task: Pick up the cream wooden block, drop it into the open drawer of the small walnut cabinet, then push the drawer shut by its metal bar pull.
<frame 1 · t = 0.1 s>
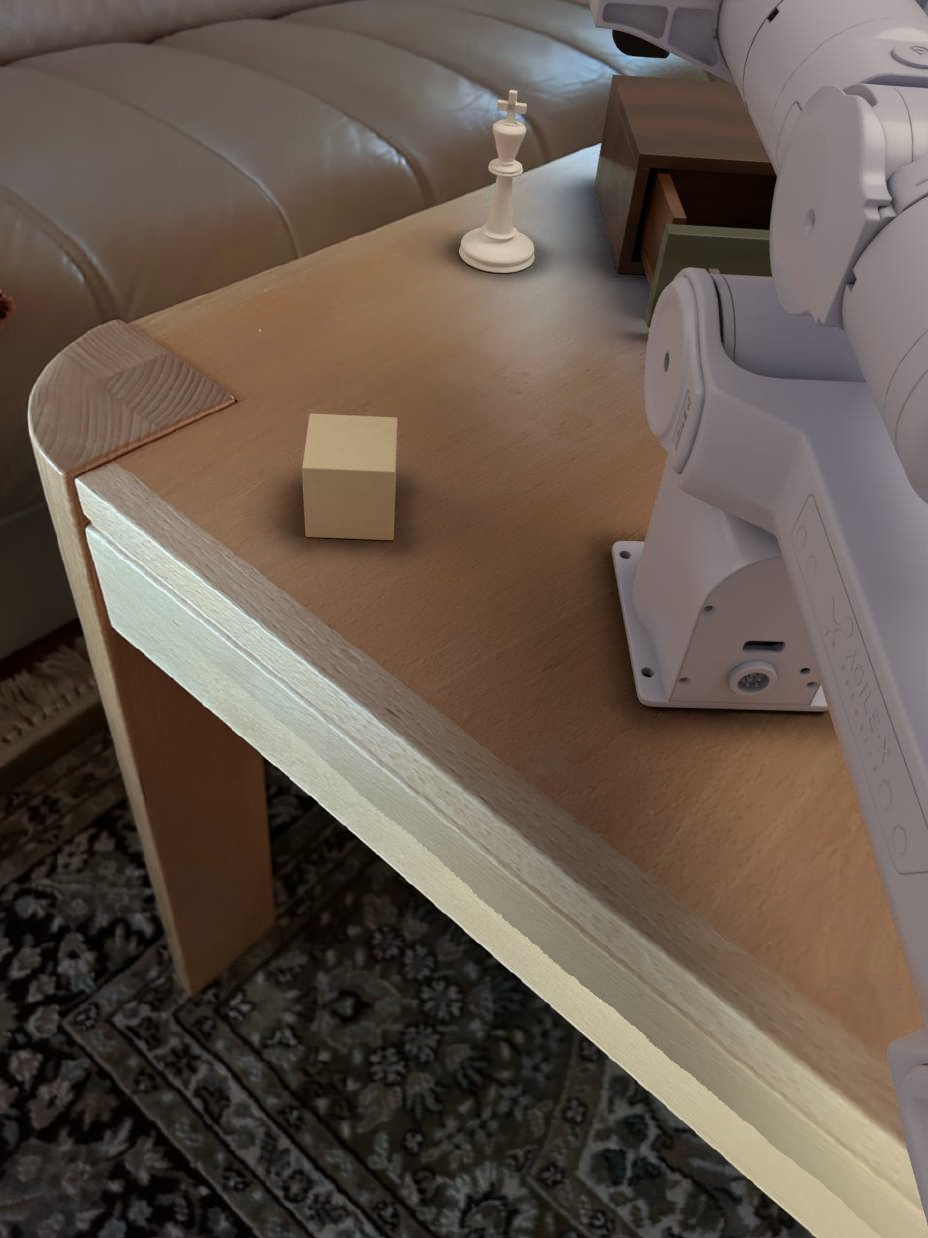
drawer: (742, 257, 60), point 4 cm above the table, slide at 7.0 cm
block: (351, 510, 48), on the table
cabinet: (694, 231, 71), on the table
chess piece: (496, 257, 67), on the table
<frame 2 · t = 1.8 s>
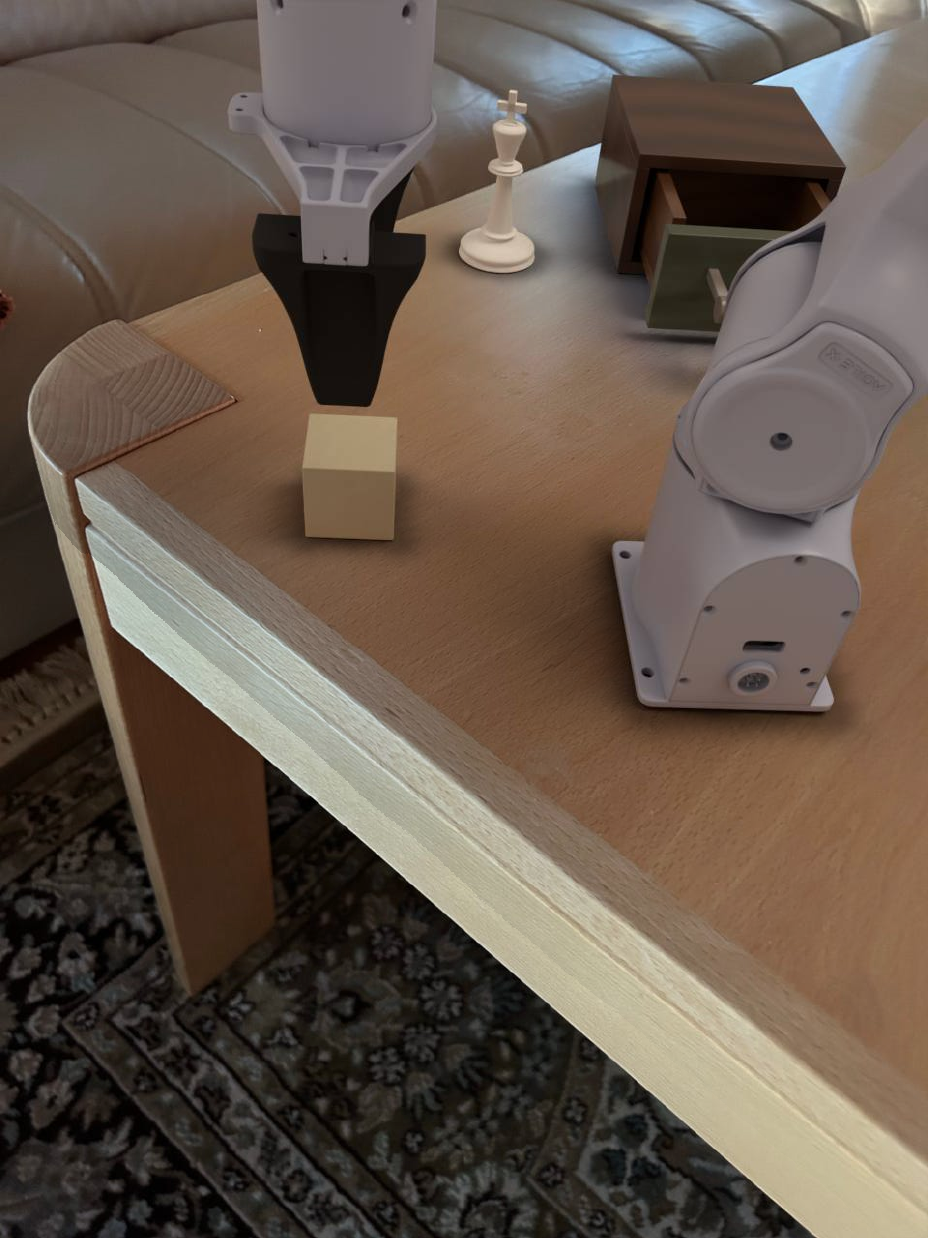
hand: (349, 346, 42), 9 cm above the table, tool pointing down, fingers open, 7 cm apart
nothing on the table moved.
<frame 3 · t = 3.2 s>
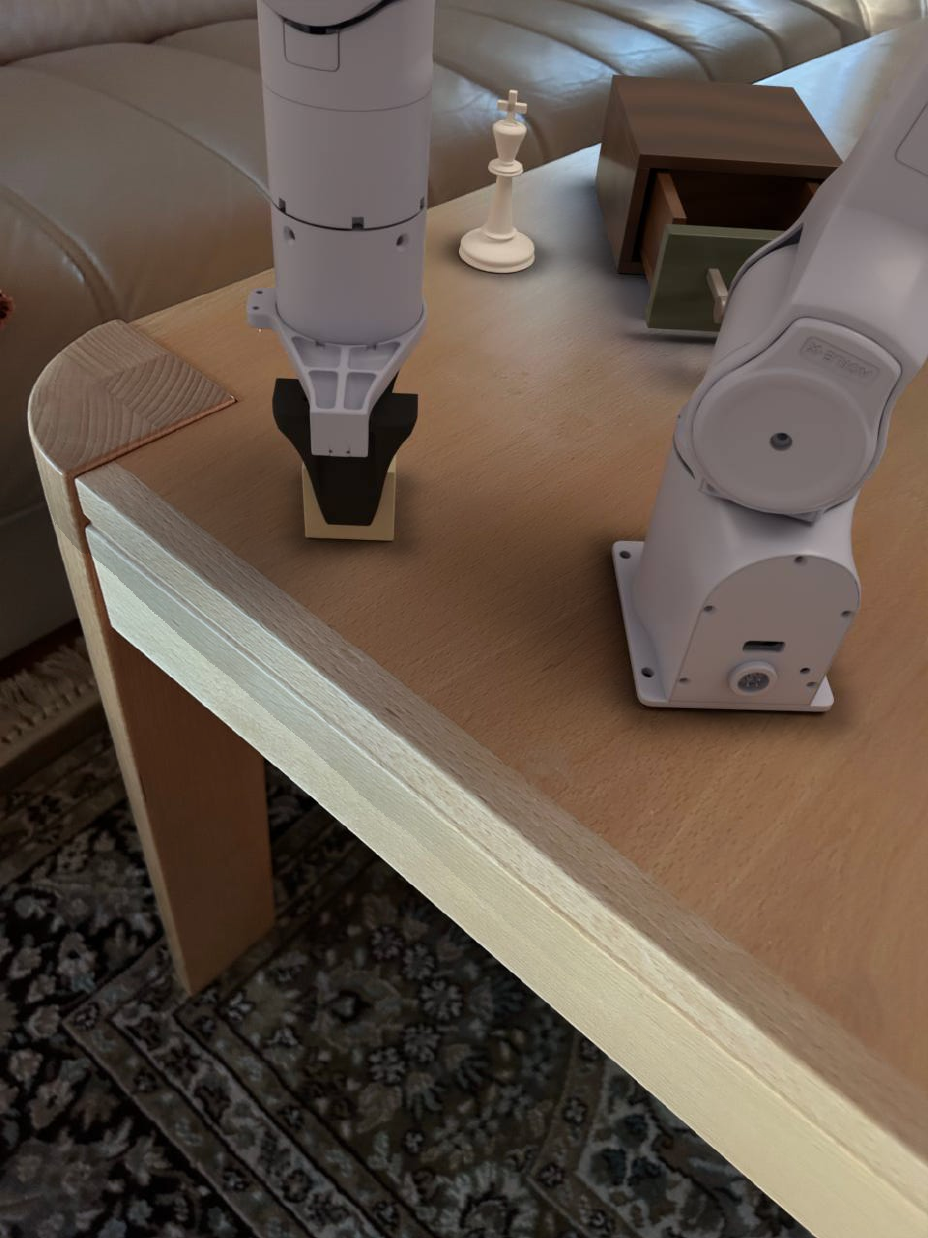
hand: (351, 487, 47), 1 cm above the table, tool pointing down, fingers closed on block, 4 cm apart
block: (351, 511, 48), on the table, touching gripper
everything else where it was.
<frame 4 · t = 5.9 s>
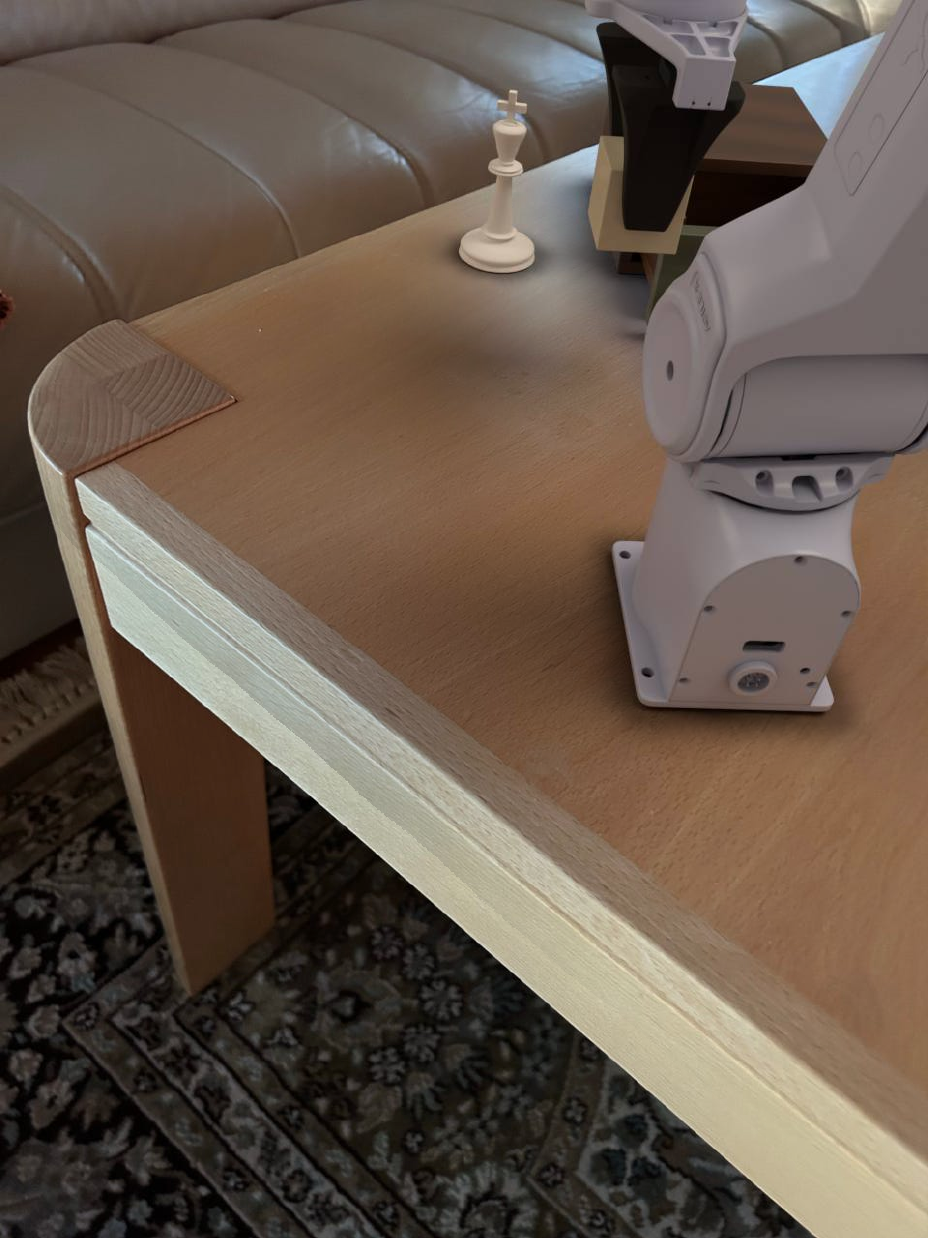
hand: (637, 206, 51), 9 cm above the table, tool pointing down, fingers closed on block, 4 cm apart
block: (630, 233, 52), point 8 cm above the table, touching gripper
everything else where it was.
when the fingers open (5 cm above the table, at t = 8.5 s): block drops 2 cm, resting on drawer.
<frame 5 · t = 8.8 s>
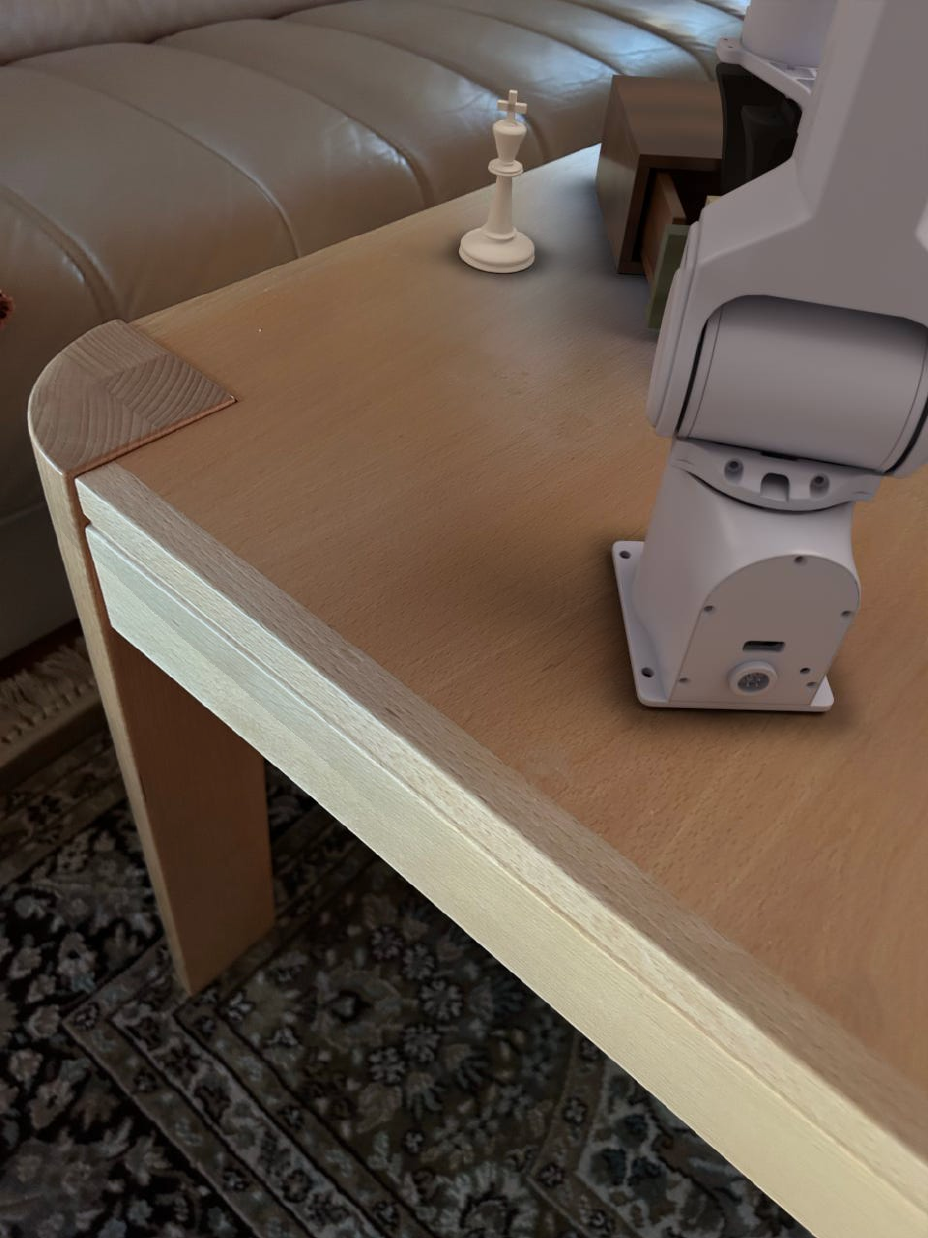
hand: (747, 220, 60), 6 cm above the table, tool pointing down, fingers open, 5 cm apart
drawer: (743, 257, 60), point 4 cm above the table, slide at 7.0 cm, touching block
block: (729, 275, 62), point 2 cm above the table, touching drawer
everything else where it was.
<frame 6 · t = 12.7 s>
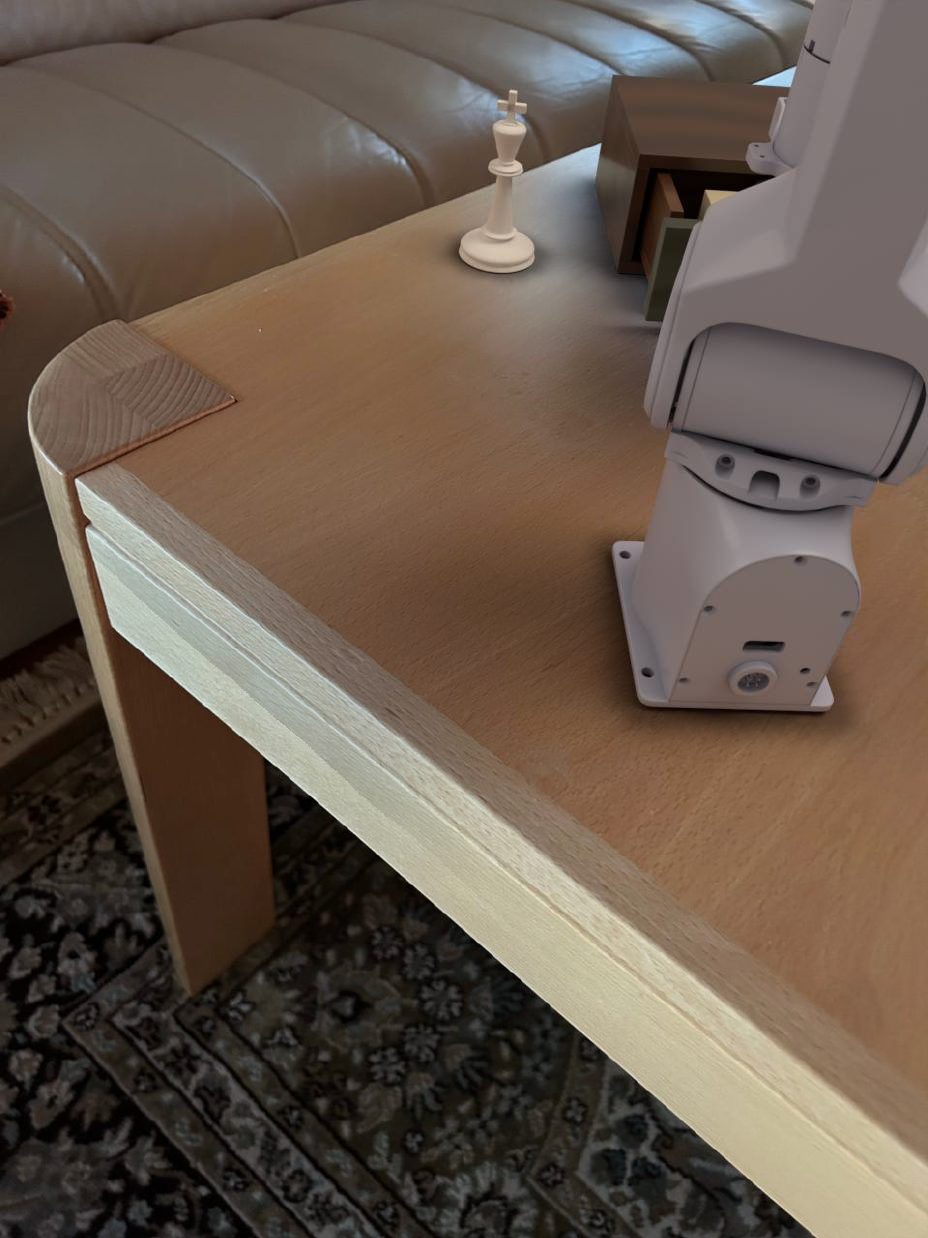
hand: (777, 330, 54), 4 cm above the table, tool pointing down, fingers closed
drawer: (740, 250, 61), point 4 cm above the table, slide at 6.2 cm, touching block, gripper
everything else where it was.
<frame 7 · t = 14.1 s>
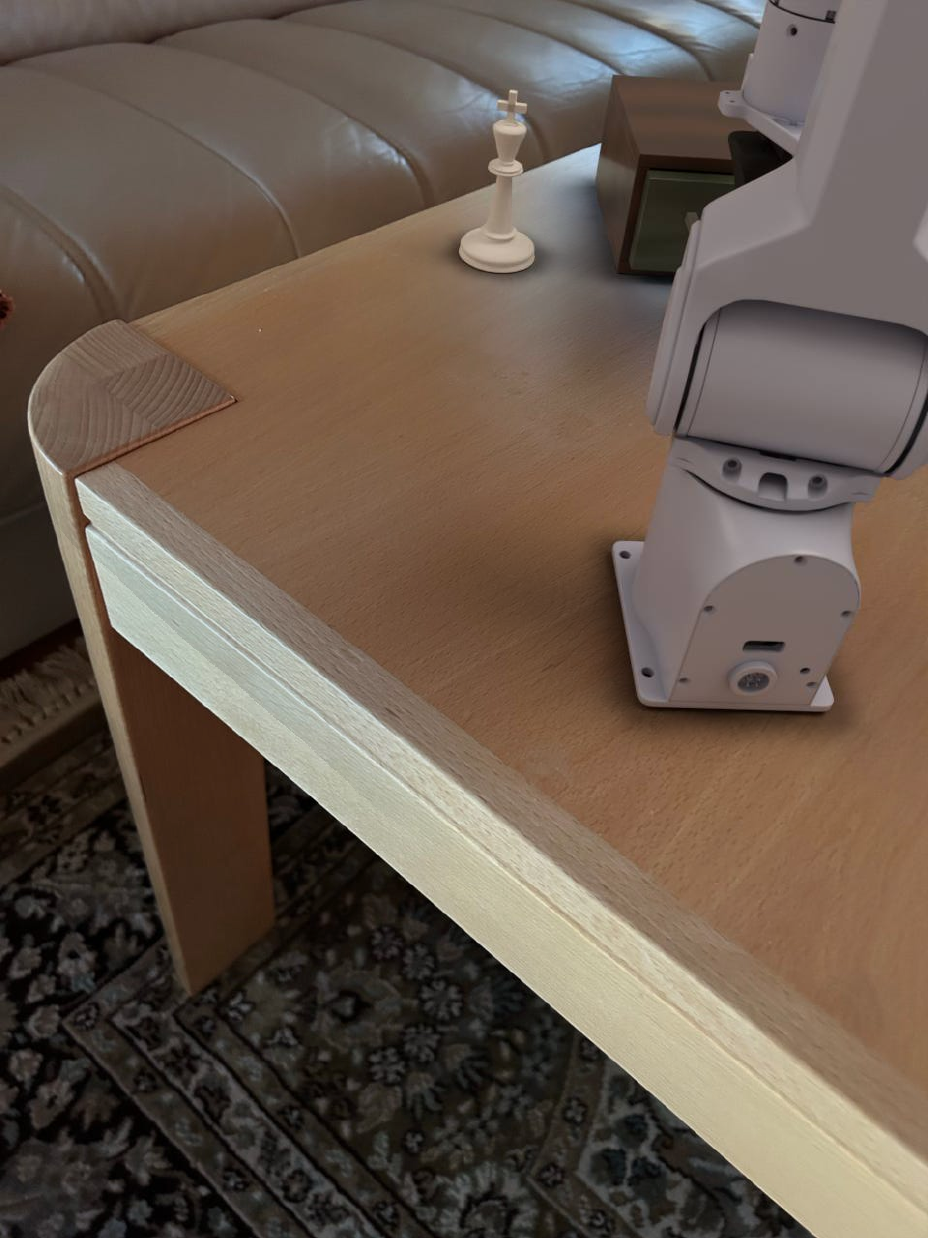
hand: (749, 269, 59), 4 cm above the table, tool pointing down, fingers closed, pressing on drawer
drawer: (719, 204, 65), point 4 cm above the table, slide at 0.0 cm, touching block, cabinet, gripper
block: (707, 223, 67), point 2 cm above the table, touching drawer
everything else where it was.
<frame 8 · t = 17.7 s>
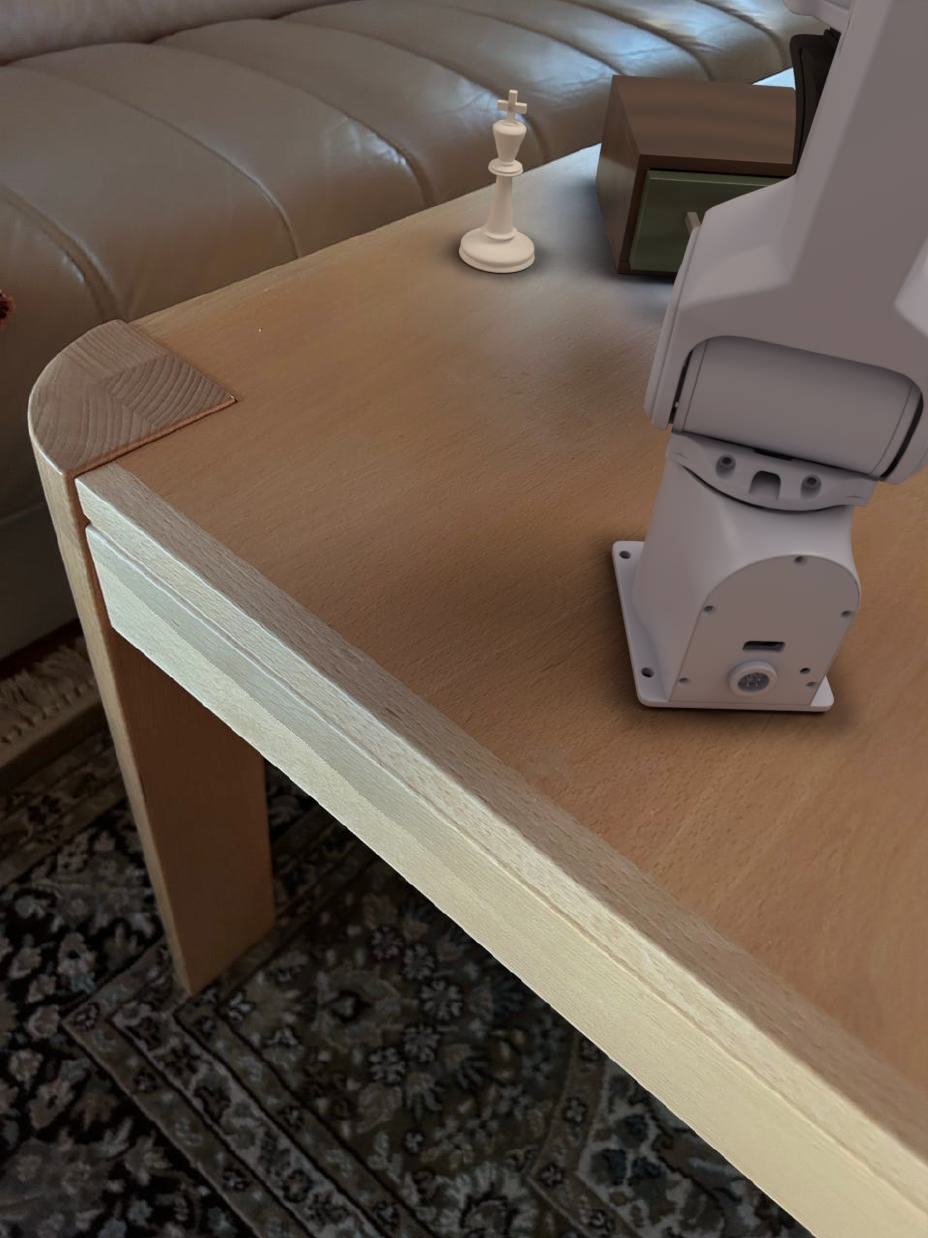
hand: (812, 207, 50), 10 cm above the table, tool pointing down, fingers closed
drawer: (719, 204, 65), point 4 cm above the table, slide at 0.0 cm, touching block, cabinet
everything else where it was.
at the end: block inside the target area in the cabinet (2.9 cm from its centre), point 2.0 cm above the cabinet's base; drawer slide at 0.0 cm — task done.
